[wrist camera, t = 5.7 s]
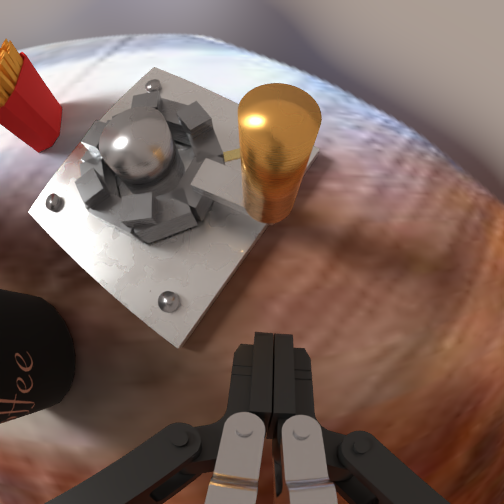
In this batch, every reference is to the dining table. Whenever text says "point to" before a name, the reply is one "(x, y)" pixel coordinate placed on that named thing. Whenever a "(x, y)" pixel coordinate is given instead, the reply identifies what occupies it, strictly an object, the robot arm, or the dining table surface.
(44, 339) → the coffee jar
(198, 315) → the flange plate
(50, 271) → the dining table surface
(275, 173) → the spiky gray ring
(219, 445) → the robot arm
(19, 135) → the french fries
